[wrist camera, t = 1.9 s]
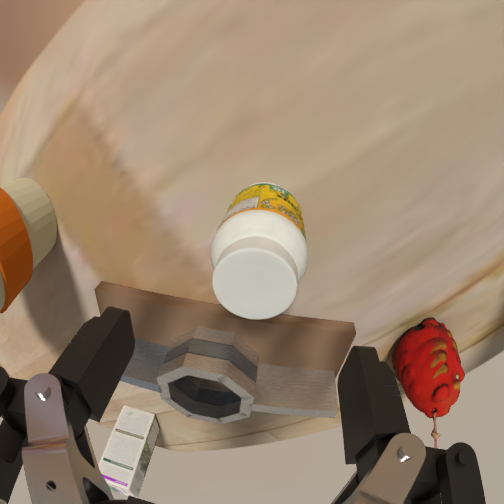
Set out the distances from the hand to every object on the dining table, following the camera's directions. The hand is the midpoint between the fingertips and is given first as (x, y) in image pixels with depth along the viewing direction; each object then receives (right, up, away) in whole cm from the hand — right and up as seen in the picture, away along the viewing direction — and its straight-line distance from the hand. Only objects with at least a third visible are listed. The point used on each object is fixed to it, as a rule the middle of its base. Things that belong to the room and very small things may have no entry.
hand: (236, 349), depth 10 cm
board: (-3, -7, +19) cm, 20 cm away
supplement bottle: (+2, +6, +12) cm, 14 cm away
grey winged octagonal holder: (-3, -7, +18) cm, 20 cm away
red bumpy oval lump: (+18, -6, +17) cm, 25 cm away
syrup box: (-17, -23, +30) cm, 41 cm away
